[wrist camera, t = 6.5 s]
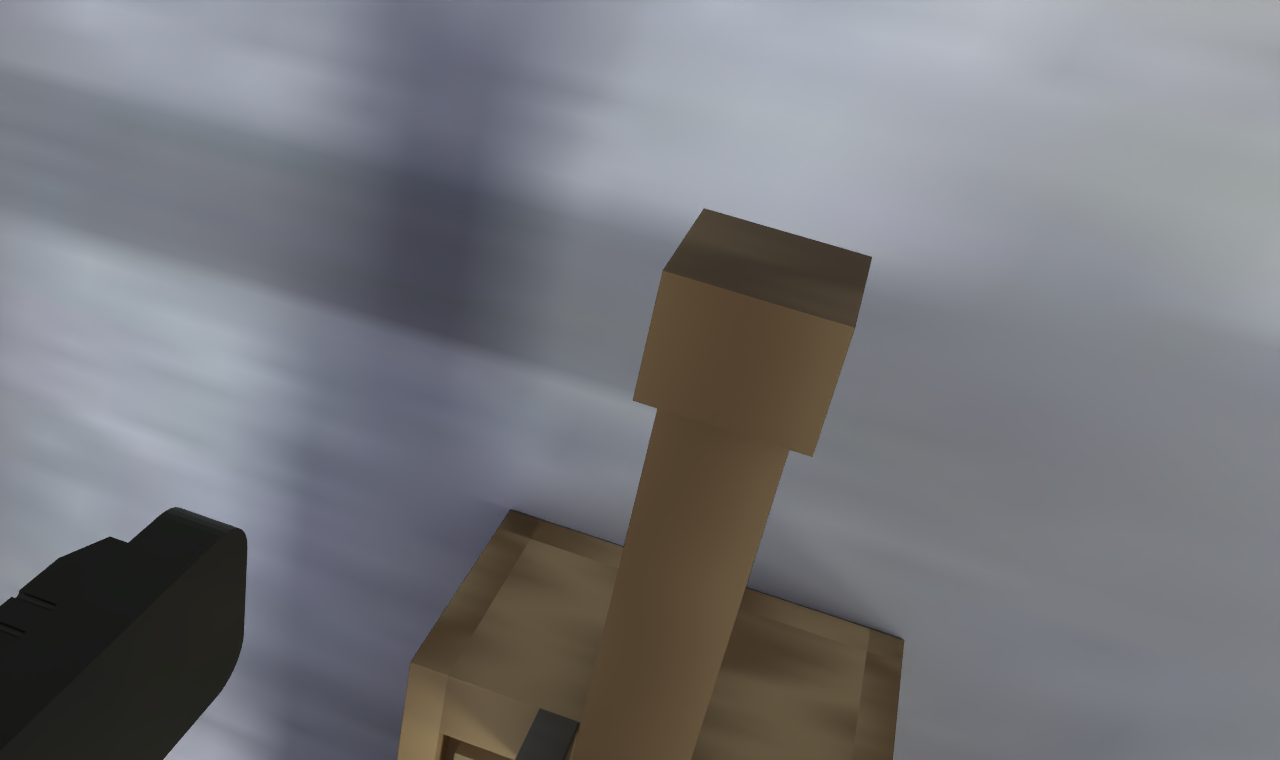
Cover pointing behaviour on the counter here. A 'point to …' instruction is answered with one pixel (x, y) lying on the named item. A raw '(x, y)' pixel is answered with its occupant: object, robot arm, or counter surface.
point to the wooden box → (568, 647)
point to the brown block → (713, 465)
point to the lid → (476, 753)
